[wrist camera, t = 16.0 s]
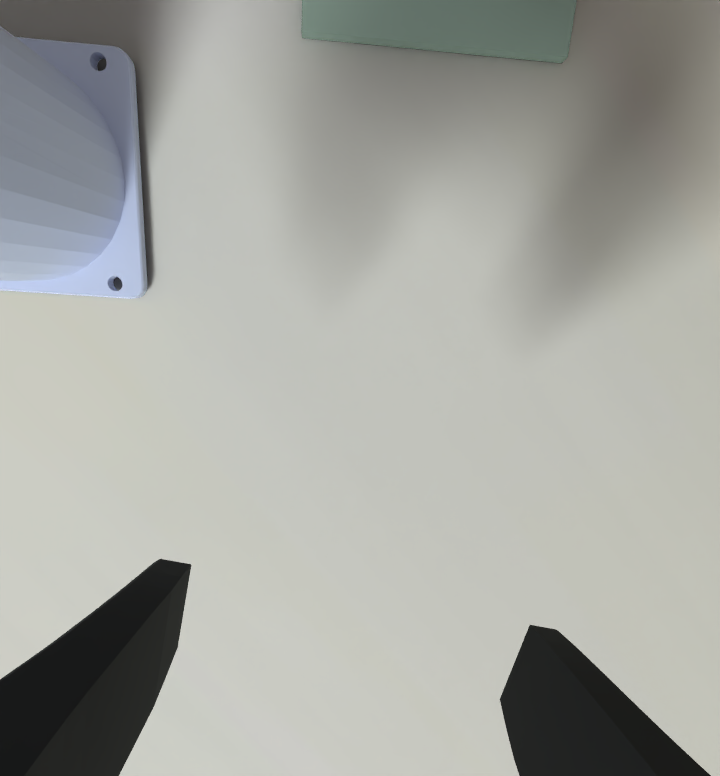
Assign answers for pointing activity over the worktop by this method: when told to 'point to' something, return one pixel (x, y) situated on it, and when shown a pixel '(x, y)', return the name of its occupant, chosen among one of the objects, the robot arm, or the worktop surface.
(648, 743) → the robot arm
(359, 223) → the worktop surface
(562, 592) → the worktop surface
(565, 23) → the sage rubber pad
